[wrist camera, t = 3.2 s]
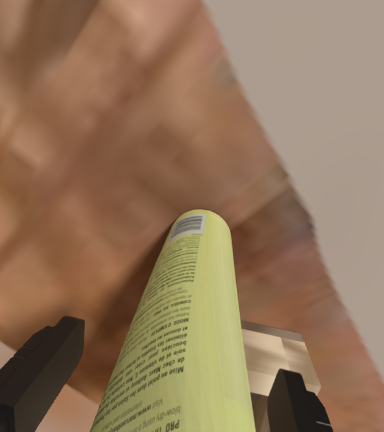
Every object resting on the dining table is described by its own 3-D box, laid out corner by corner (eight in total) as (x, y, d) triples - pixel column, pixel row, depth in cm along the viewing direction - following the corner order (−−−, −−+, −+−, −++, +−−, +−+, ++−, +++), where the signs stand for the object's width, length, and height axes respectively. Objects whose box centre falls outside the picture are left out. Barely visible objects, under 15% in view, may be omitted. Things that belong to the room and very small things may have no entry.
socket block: (161, 399, 27) (149, 455, 23) (179, 307, 23) (168, 351, 19) (265, 423, 27) (274, 486, 22) (300, 333, 23) (321, 386, 18)
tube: (228, 273, 22) (258, 1043, 3) (168, 267, 22) (-83, 919, 4) (234, 209, 20) (368, 1117, 2) (169, 204, 20) (-293, 870, 2)
